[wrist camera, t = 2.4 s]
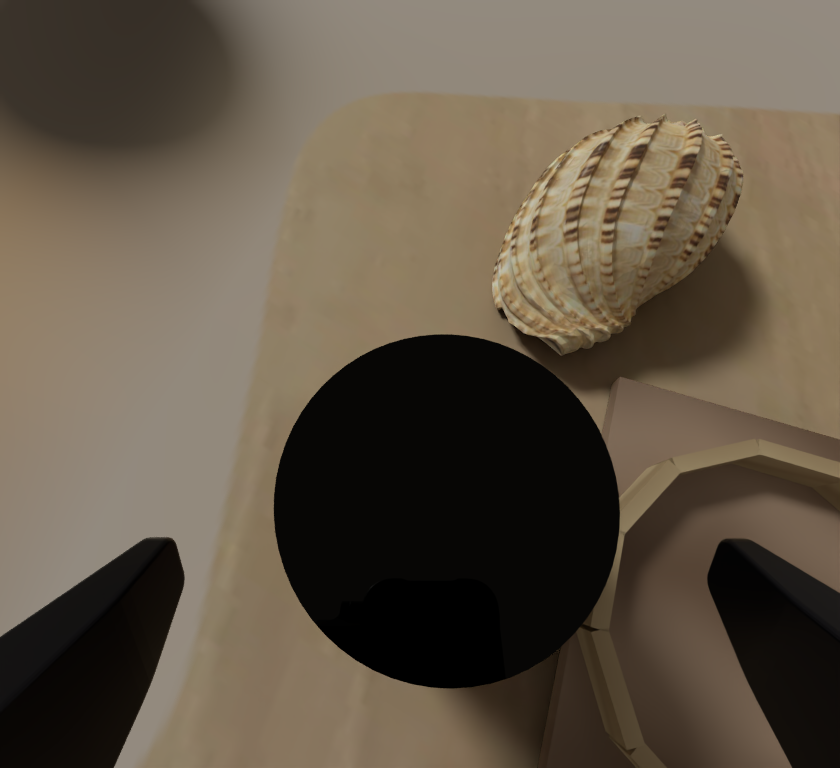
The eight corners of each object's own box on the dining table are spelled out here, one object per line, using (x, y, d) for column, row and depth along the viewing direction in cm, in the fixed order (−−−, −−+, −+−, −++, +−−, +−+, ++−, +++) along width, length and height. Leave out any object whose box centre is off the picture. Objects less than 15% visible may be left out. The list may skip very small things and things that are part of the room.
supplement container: (551, 557, 16) (696, 553, 8) (400, 659, 15) (380, 780, 7) (457, 413, 18) (494, 282, 10) (315, 496, 17) (216, 432, 9)
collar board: (932, 979, 13) (1037, 1063, 11) (526, 824, 14) (546, 872, 12) (916, 472, 17) (987, 459, 15) (611, 384, 18) (637, 360, 16)
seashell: (641, 384, 22) (723, 158, 21) (701, 398, 16) (821, 82, 15) (475, 332, 23) (545, 112, 21) (471, 327, 17) (569, 22, 15)
